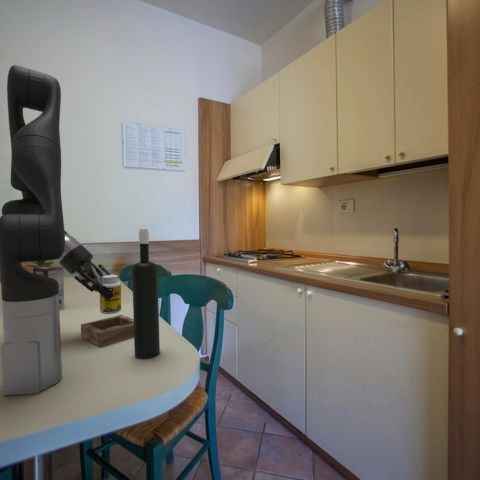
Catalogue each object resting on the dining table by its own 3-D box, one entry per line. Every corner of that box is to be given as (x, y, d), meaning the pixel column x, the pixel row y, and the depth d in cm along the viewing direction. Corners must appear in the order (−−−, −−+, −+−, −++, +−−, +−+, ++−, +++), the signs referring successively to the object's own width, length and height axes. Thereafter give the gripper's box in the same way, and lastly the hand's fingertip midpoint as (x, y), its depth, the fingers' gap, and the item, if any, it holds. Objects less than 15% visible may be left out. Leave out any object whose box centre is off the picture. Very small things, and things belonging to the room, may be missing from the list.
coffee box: (34, 310, 116) (32, 267, 115) (51, 306, 122) (49, 265, 121) (48, 313, 112) (46, 269, 111) (65, 308, 118) (63, 266, 117)
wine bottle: (150, 347, 78) (147, 229, 77) (164, 352, 74) (161, 228, 73) (129, 354, 74) (126, 229, 72) (143, 361, 70) (139, 229, 69)
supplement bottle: (102, 316, 83) (100, 278, 83) (98, 311, 88) (97, 275, 87) (123, 312, 86) (122, 276, 86) (119, 308, 91) (118, 273, 90)
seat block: (142, 334, 88) (142, 322, 88) (100, 347, 79) (100, 333, 79) (121, 326, 96) (121, 314, 95) (81, 336, 87) (80, 324, 86)
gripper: (66, 245, 78) (116, 291, 80) (90, 242, 93) (132, 281, 94) (46, 266, 78) (95, 312, 80) (73, 260, 93) (114, 298, 94)
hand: (115, 295), depth 87 cm, fingers closed on supplement bottle, 5 cm apart
